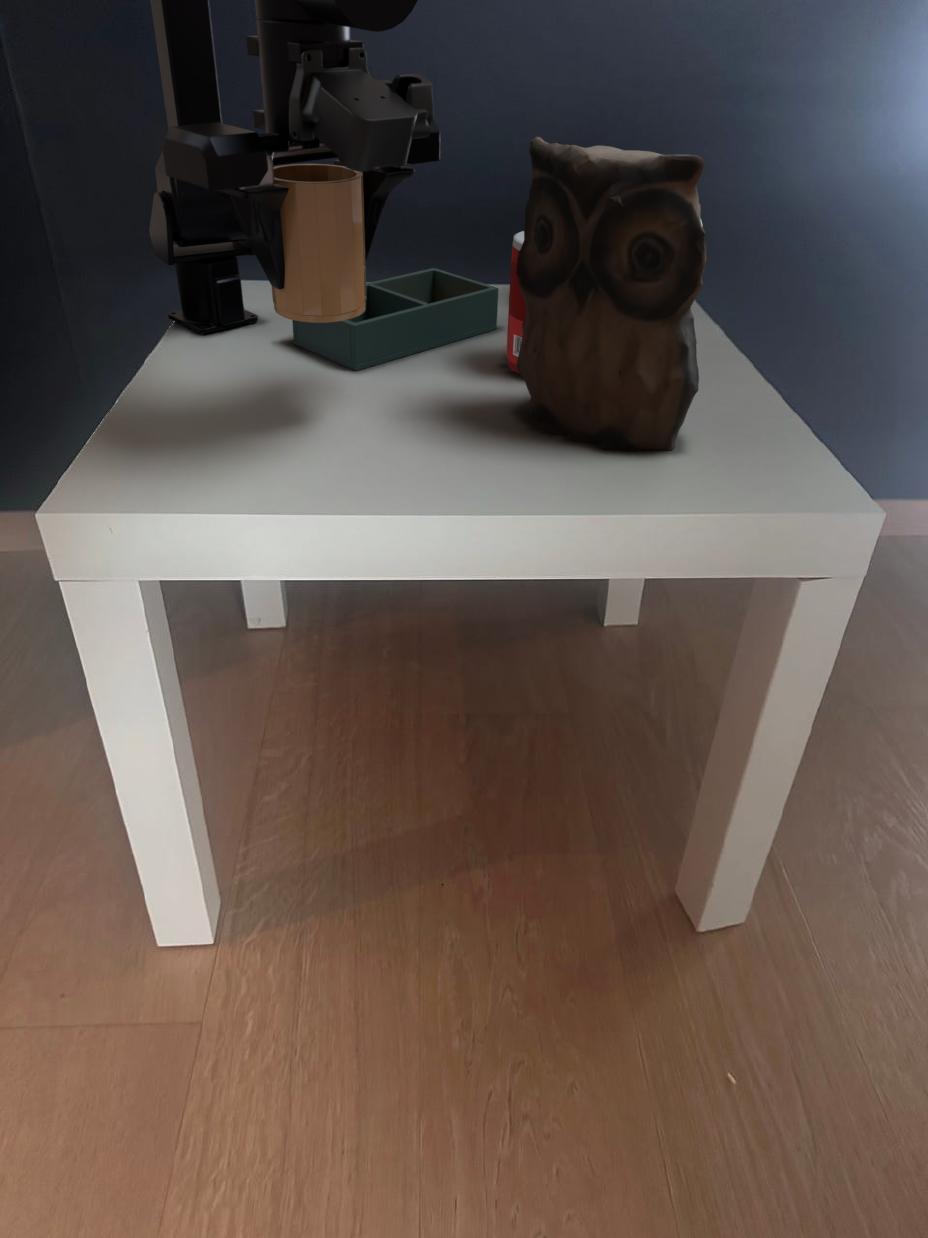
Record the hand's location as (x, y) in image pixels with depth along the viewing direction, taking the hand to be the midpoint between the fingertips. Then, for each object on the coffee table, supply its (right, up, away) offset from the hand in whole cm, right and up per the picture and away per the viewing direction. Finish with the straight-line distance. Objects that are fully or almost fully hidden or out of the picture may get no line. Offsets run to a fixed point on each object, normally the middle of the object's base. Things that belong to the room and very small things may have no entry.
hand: (318, 279), depth 66 cm
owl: (+22, -8, +8) cm, 25 cm away
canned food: (+18, -2, +17) cm, 25 cm away
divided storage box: (+4, +3, +23) cm, 23 cm away
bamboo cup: (0, -2, +1) cm, 2 cm away
